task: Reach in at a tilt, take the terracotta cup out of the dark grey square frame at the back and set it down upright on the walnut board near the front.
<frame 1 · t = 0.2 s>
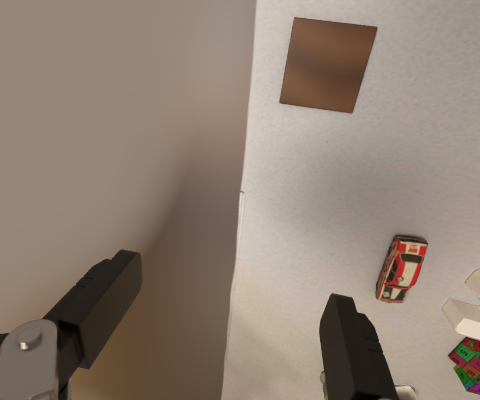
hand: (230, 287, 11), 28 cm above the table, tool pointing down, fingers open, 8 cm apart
walnut board: (323, 67, 32), on the table
race car: (395, 264, 42), on the table
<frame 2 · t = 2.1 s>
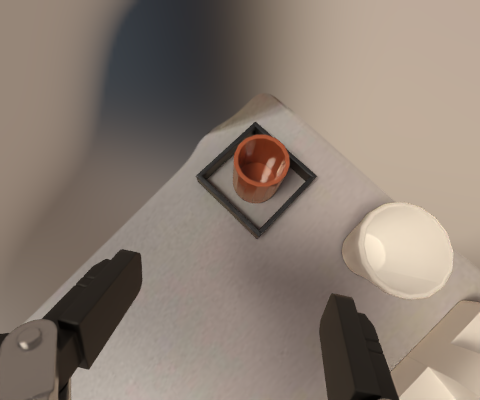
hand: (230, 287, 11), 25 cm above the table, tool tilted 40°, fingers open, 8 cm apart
terracotta cup: (258, 172, 34), in the dark grey square frame
tape dispenser: (445, 380, 33), on the table
cup: (362, 253, 37), on the table
dark grey square frame: (255, 181, 38), on the table
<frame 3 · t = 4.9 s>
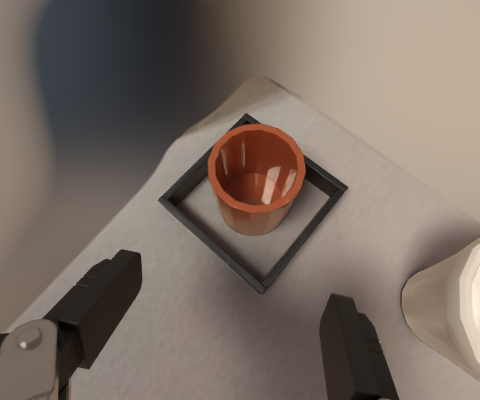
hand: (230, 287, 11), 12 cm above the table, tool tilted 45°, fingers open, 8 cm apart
terracotta cup: (254, 187, 21), in the dark grey square frame
cup: (435, 308, 22), on the table
dark grey square frame: (252, 202, 25), on the table
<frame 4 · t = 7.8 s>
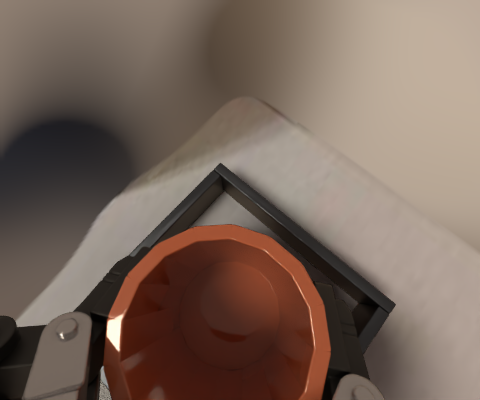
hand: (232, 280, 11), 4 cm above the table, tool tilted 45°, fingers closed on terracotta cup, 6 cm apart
terracotta cup: (225, 319, 11), in the dark grey square frame, touching gripper
dark grey square frame: (229, 311, 15), on the table
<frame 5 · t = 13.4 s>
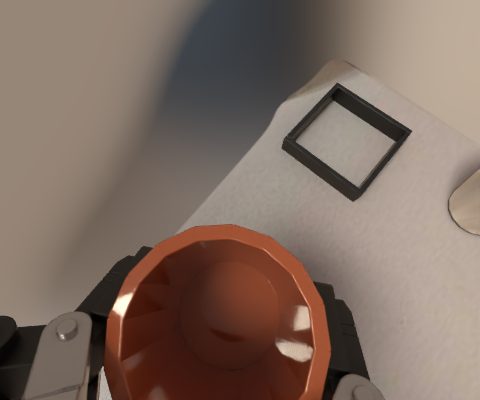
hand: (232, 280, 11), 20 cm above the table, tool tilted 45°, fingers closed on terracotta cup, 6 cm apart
terracotta cup: (225, 319, 11), point 20 cm above the table, touching gripper
cup: (471, 211, 33), on the table
dark grey square frame: (341, 144, 36), on the table
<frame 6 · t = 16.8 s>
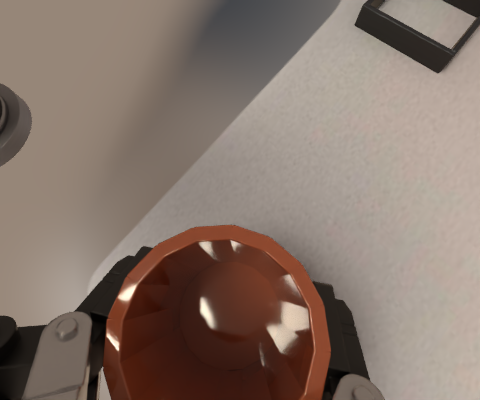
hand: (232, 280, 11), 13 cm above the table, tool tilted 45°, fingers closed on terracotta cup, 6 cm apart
terracotta cup: (225, 319, 11), point 13 cm above the table, touching gripper
dark grey square frame: (419, 21, 34), on the table
when the fingers open (5 cm above the table, at t = 19.3 s): terracotta cup stays where it is, resting on walnut board.
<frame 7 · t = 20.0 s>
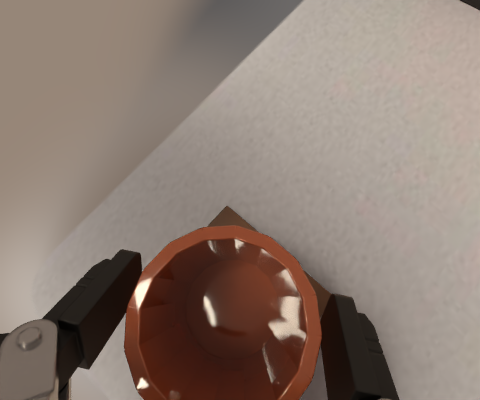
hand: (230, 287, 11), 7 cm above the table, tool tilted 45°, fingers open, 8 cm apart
terracotta cup: (229, 311, 13), on the walnut board, point 5 cm above the table
walnut board: (232, 303, 17), on the table
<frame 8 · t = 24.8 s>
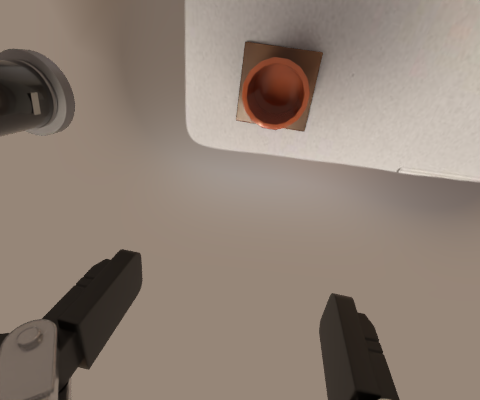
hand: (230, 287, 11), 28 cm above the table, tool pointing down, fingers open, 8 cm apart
terracotta cup: (276, 92, 29), on the walnut board, point 5 cm above the table
walnut board: (276, 88, 33), on the table
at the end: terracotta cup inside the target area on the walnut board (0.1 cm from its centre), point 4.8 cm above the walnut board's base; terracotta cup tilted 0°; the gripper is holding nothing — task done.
